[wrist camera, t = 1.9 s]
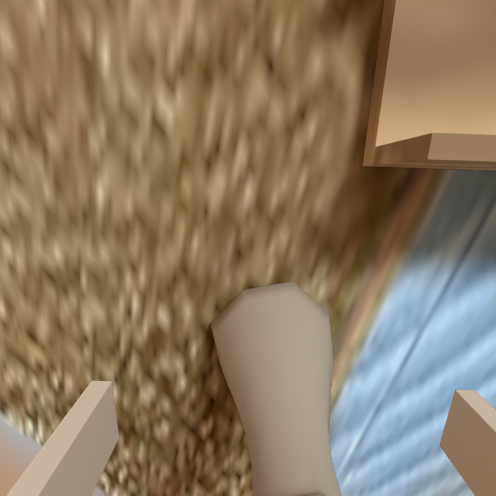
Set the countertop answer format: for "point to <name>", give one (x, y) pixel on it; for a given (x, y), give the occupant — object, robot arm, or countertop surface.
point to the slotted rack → (434, 86)
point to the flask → (281, 386)
